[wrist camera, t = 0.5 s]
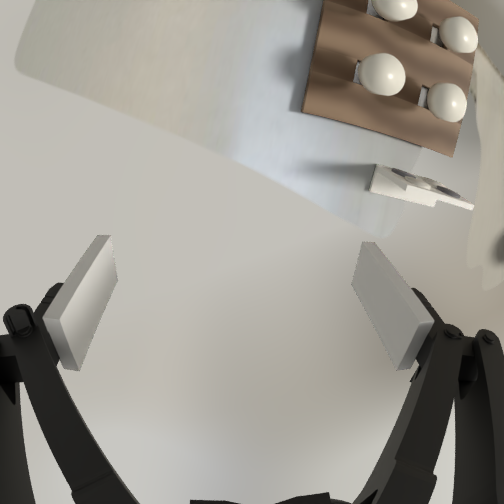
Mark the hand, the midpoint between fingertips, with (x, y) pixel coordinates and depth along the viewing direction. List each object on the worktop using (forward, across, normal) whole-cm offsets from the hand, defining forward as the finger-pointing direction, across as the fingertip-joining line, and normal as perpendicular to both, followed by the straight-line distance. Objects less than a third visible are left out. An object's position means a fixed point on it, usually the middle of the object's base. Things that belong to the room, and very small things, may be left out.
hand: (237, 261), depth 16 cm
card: (+26, +26, -2) cm, 37 cm away
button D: (+24, +26, +11) cm, 37 cm away
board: (+26, +22, +17) cm, 38 cm away
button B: (+24, +27, +21) cm, 42 cm away
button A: (+24, +17, +22) cm, 37 cm away
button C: (+24, +16, +12) cm, 31 cm away
